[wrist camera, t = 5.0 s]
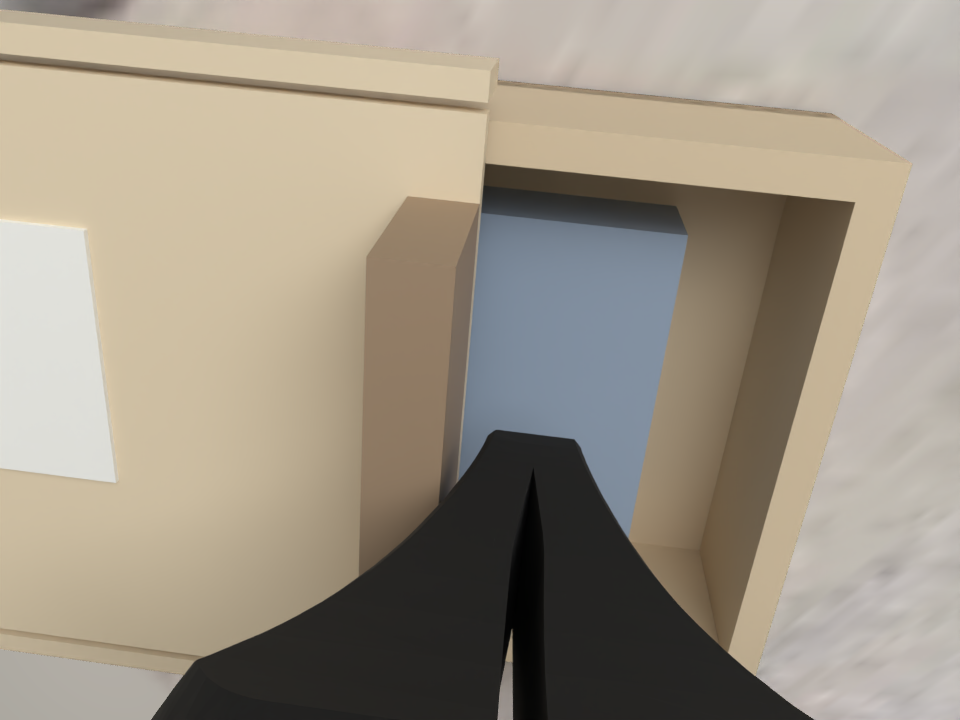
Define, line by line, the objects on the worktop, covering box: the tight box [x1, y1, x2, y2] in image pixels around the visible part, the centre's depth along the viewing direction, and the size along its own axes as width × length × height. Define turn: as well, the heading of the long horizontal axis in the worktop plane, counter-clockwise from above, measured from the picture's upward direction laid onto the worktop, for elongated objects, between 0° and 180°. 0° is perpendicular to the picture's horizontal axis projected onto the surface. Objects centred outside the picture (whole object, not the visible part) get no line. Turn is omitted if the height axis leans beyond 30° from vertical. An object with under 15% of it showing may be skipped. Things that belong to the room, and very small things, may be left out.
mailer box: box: [0, 53, 912, 676], centre depth 16 cm, size 10×14×4 cm
